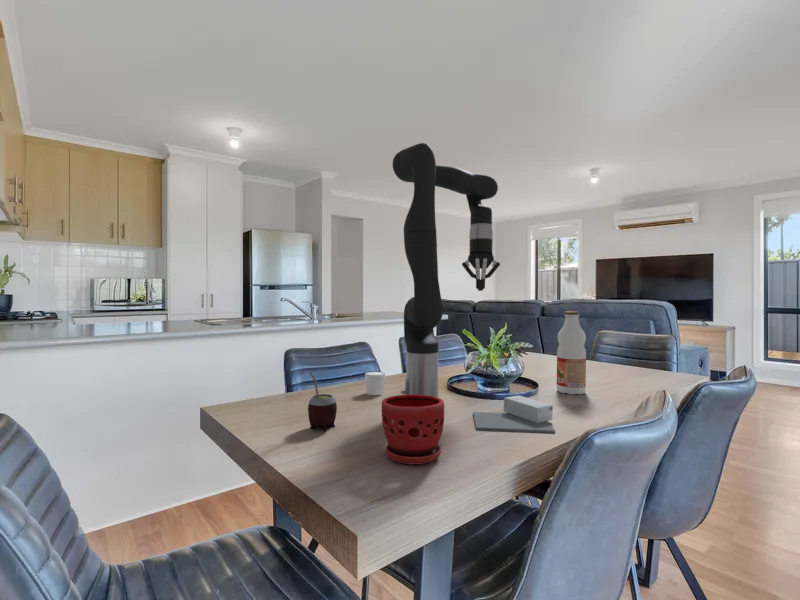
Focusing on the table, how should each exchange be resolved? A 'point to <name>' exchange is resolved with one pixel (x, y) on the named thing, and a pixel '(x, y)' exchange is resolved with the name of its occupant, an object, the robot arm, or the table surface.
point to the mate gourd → (321, 410)
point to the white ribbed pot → (374, 383)
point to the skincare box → (528, 409)
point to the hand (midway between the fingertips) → (480, 290)
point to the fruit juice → (571, 356)
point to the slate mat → (509, 423)
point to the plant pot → (413, 427)
